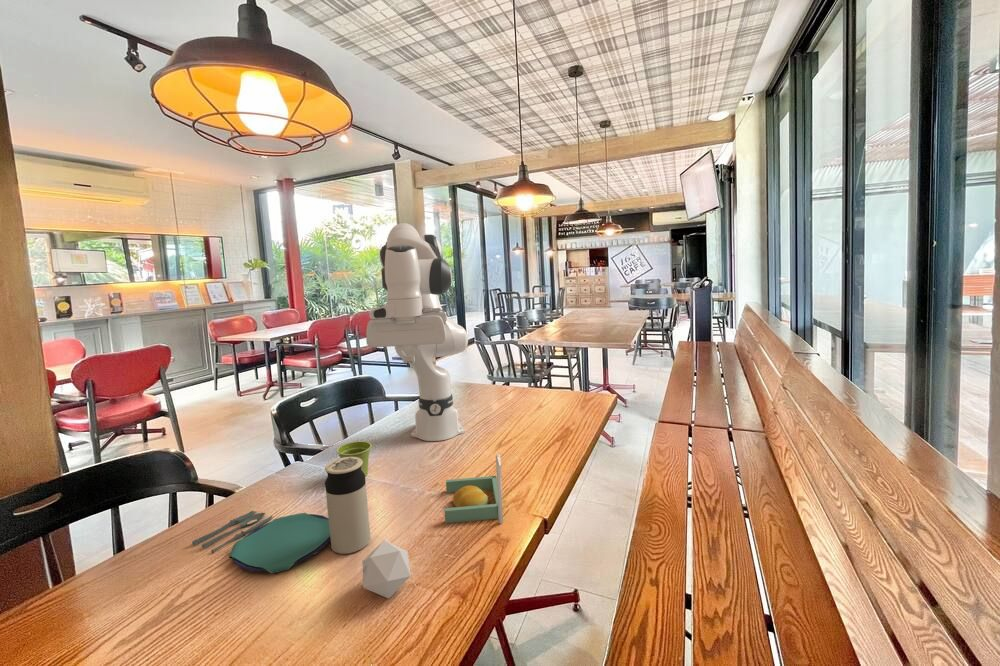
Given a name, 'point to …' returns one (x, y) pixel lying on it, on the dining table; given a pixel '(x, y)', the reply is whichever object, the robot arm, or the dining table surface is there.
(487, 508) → the green pocket
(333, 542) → the travel mug
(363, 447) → the plant pot
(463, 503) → the bread roll
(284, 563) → the cutlery set
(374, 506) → the dining table surface
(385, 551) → the die
